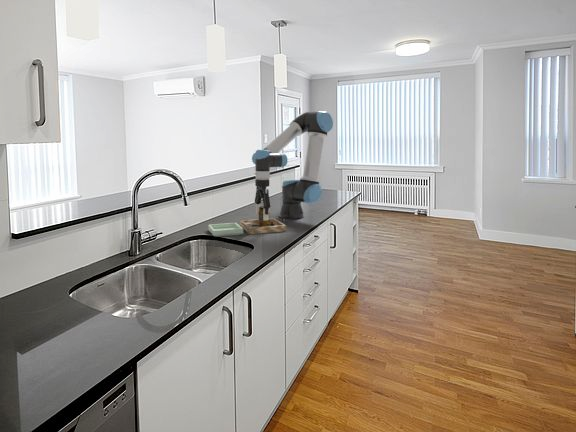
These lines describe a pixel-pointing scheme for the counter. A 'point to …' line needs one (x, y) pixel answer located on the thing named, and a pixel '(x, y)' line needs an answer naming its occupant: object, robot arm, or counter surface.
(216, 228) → the green tray
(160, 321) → the counter surface
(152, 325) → the counter surface
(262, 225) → the condiment
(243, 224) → the brown wooden tray
